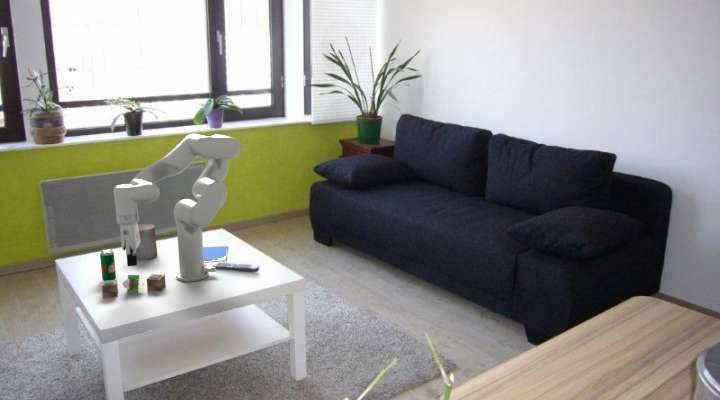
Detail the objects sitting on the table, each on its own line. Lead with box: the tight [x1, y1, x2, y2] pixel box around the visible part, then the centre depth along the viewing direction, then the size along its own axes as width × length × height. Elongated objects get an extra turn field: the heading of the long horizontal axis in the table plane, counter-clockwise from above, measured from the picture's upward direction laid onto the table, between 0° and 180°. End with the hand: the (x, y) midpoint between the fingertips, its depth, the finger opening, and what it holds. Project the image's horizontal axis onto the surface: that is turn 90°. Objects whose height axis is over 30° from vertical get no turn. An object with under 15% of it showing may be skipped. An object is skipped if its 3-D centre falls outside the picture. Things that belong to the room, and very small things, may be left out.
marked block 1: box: [101, 279, 119, 299], centre depth 238 cm, size 5×5×5 cm
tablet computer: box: [203, 245, 228, 261], centre depth 283 cm, size 19×13×1 cm, turn 10°
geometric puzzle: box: [121, 274, 145, 294], centre depth 241 cm, size 7×7×8 cm
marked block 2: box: [146, 273, 167, 293], centre depth 244 cm, size 5×5×5 cm
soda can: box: [99, 248, 117, 281], centre depth 252 cm, size 5×5×12 cm
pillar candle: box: [136, 223, 158, 261], centre depth 279 cm, size 10×10×15 cm
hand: (132, 265), depth 239 cm, fingers closed
